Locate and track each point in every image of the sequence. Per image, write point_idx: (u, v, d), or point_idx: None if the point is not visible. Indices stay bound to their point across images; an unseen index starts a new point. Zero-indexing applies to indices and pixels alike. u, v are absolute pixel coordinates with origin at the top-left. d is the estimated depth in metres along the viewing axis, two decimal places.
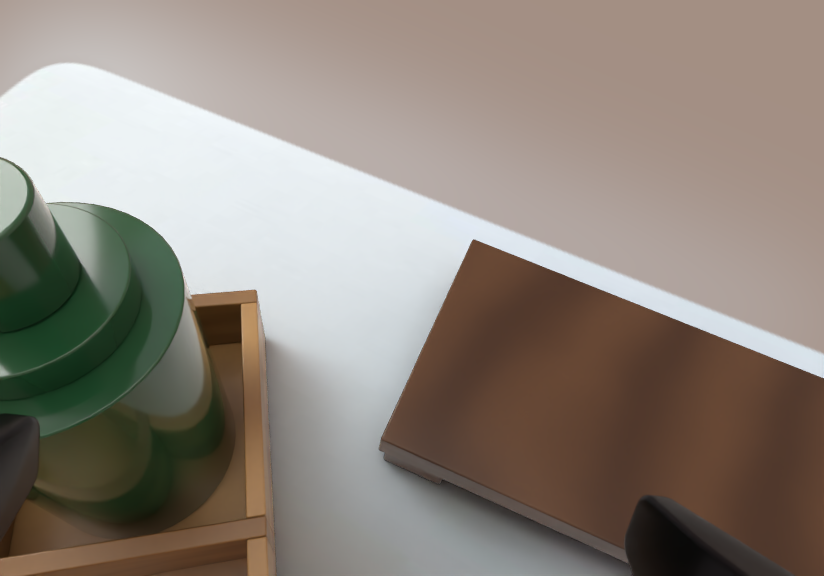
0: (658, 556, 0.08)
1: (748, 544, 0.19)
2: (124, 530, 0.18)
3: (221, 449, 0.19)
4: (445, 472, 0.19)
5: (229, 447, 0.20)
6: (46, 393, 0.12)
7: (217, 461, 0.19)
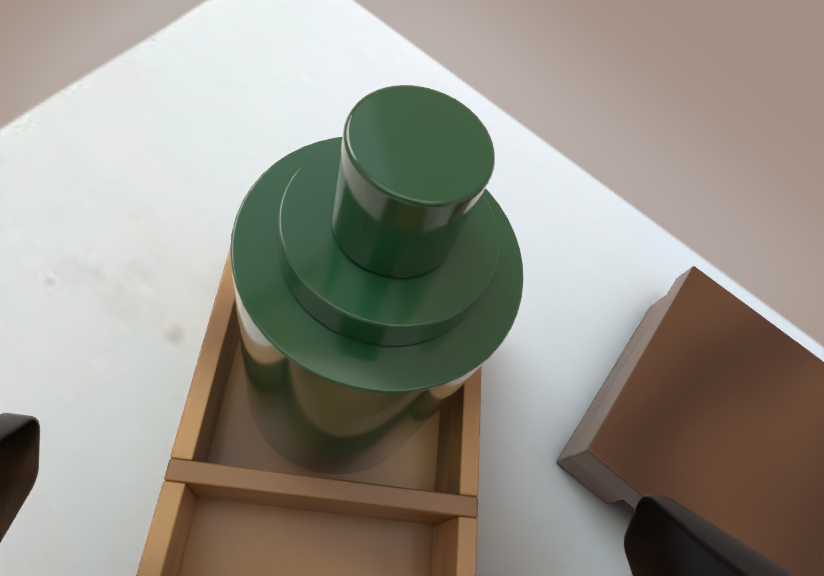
0: (658, 556, 0.08)
1: None
2: (327, 466, 0.18)
3: None
4: None
5: None
6: (402, 346, 0.11)
7: None
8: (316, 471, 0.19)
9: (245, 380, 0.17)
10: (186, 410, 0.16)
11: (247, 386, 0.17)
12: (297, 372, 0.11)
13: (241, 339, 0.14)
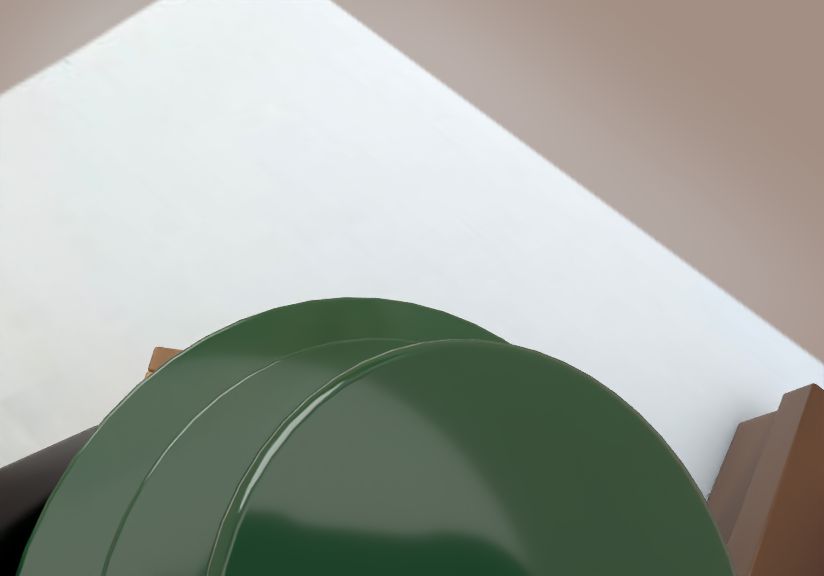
0: None
1: None
2: None
3: None
4: None
5: None
6: None
7: None
8: None
9: None
10: None
11: None
12: None
13: None
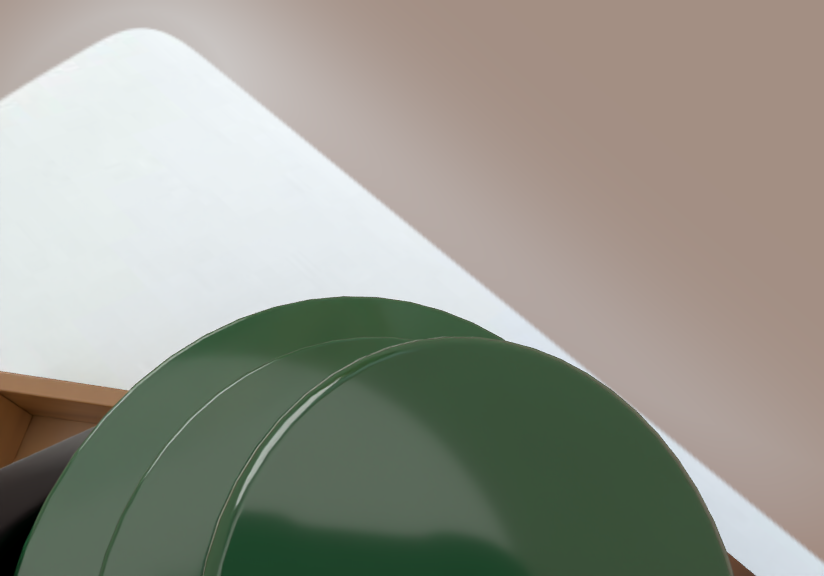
0: None
1: None
2: None
3: None
4: None
5: None
6: None
7: None
8: None
9: None
10: None
11: None
12: None
13: None
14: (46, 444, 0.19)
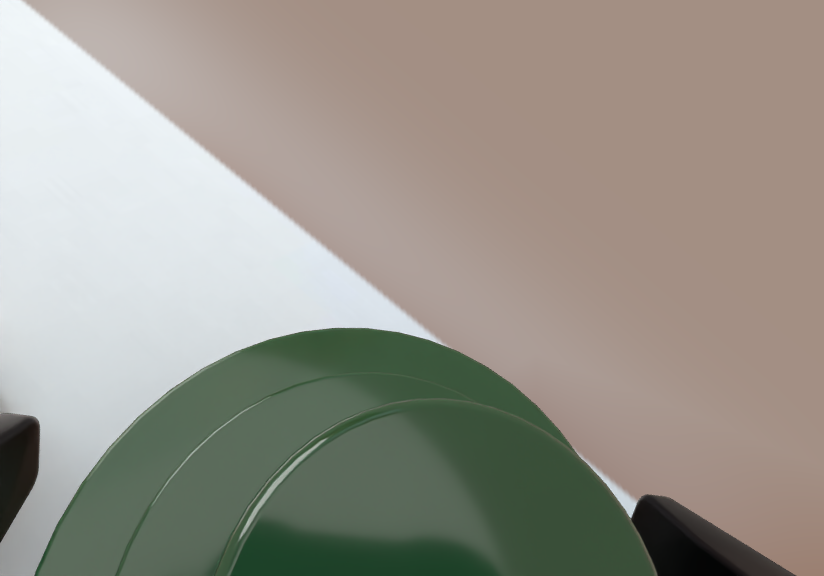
0: (658, 556, 0.08)
1: None
2: None
3: None
4: None
5: None
6: None
7: None
8: None
9: None
10: None
11: None
12: None
13: None
14: None
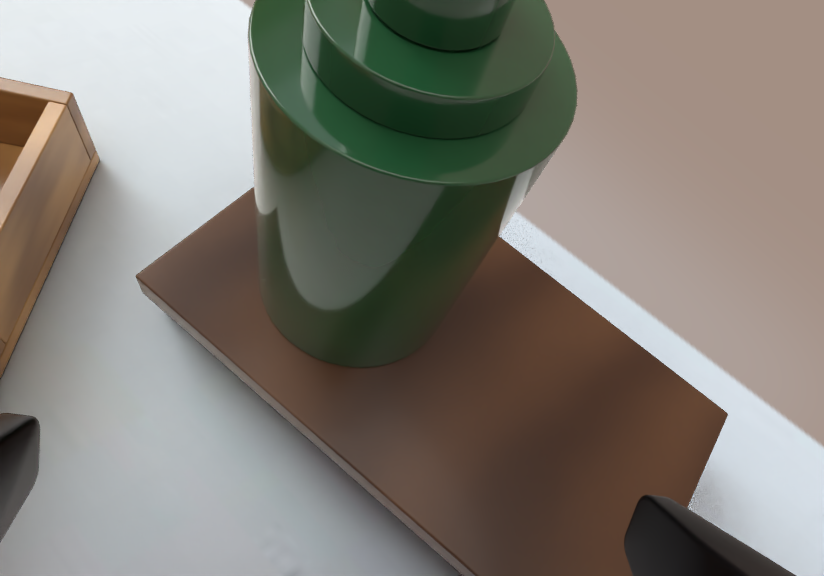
0: (658, 556, 0.08)
1: (488, 499, 0.17)
2: (348, 351, 0.16)
3: None
4: (192, 330, 0.17)
5: None
6: (446, 140, 0.10)
7: (448, 311, 0.17)
8: (335, 363, 0.17)
9: (258, 255, 0.16)
10: None
11: (261, 257, 0.15)
12: (327, 165, 0.10)
13: (257, 173, 0.12)
14: None
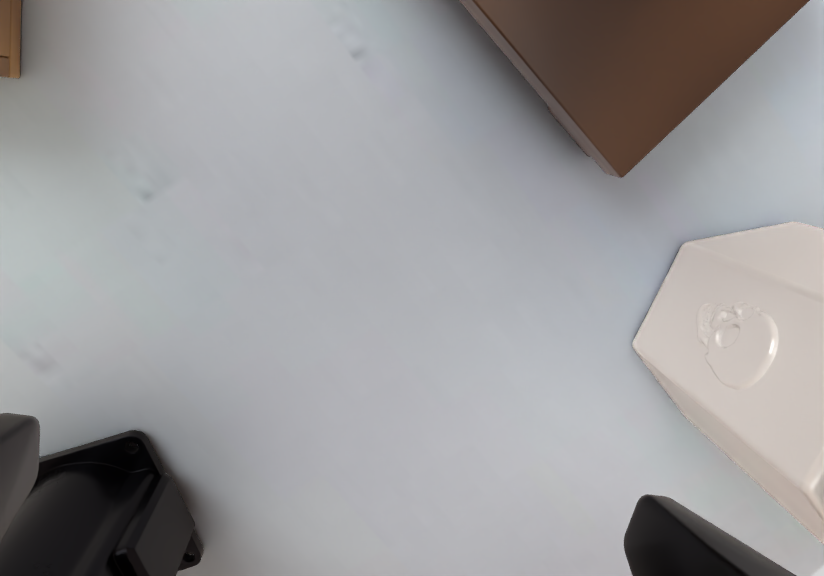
0: (658, 556, 0.08)
1: None
2: None
3: None
4: None
5: None
6: None
7: None
8: None
9: None
10: None
11: None
12: None
13: None
14: None
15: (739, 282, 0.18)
